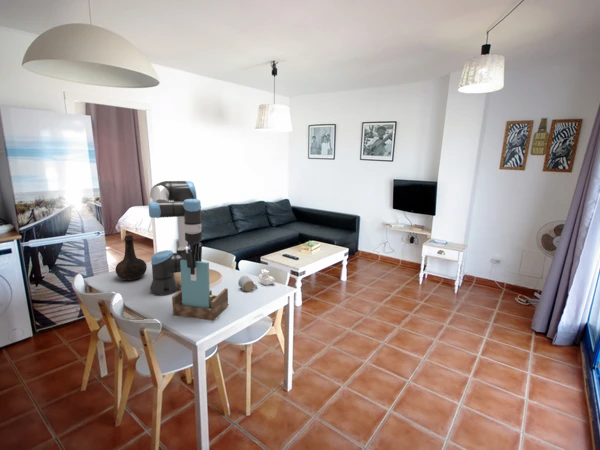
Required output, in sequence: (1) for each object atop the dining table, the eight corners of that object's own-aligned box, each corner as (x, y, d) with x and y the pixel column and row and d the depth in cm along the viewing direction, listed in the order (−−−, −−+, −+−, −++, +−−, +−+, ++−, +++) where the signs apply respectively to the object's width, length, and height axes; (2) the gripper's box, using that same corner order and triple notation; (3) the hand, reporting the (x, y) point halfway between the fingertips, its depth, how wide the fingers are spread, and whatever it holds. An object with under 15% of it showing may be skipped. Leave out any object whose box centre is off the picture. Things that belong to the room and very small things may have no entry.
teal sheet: (182, 306, 156) (180, 260, 151) (184, 305, 157) (182, 259, 152) (208, 310, 153) (207, 263, 148) (210, 308, 155) (208, 262, 150)
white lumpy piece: (258, 285, 204) (251, 275, 196) (263, 275, 208) (257, 265, 200) (273, 289, 198) (267, 279, 190) (278, 279, 202) (273, 269, 195)
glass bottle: (127, 285, 191) (123, 241, 185) (110, 279, 200) (106, 236, 194) (153, 276, 206) (150, 235, 200) (136, 271, 215) (133, 231, 209)
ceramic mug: (243, 293, 186) (244, 281, 184) (238, 288, 192) (238, 276, 191) (259, 289, 192) (260, 278, 190) (253, 285, 198) (253, 273, 197)
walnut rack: (172, 318, 155) (171, 297, 153) (191, 302, 172) (190, 283, 170) (214, 323, 151) (213, 302, 149) (229, 306, 169) (228, 287, 166)
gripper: (192, 236, 140) (194, 286, 145) (208, 229, 154) (209, 274, 159) (177, 235, 141) (179, 284, 146) (193, 228, 155) (195, 273, 160)
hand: (195, 279), depth 152 cm, fingers closed on teal sheet, 2 cm apart
